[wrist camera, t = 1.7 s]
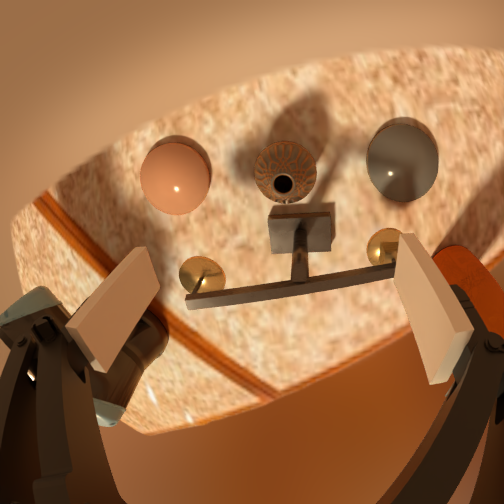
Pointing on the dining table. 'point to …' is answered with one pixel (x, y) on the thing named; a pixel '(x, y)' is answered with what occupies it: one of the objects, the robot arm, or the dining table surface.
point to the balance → (299, 244)
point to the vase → (285, 172)
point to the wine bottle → (474, 284)
